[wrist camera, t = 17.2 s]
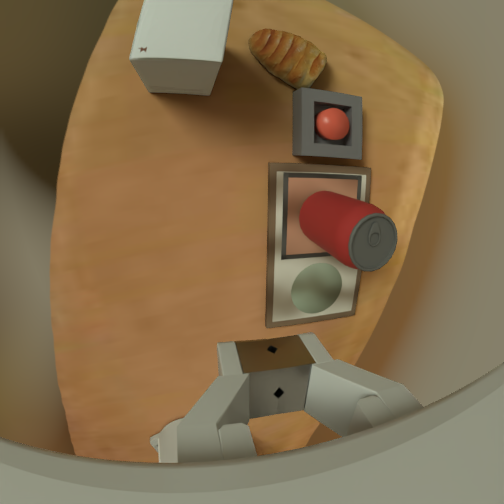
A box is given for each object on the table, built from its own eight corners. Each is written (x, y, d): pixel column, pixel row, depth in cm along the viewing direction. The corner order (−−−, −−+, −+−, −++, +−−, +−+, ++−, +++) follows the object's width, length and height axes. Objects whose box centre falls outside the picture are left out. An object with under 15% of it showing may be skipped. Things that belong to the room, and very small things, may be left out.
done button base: (349, 158, 36) (361, 159, 33) (292, 155, 34) (301, 155, 31) (349, 100, 33) (361, 97, 30) (292, 92, 32) (301, 87, 29)
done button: (341, 141, 33) (349, 141, 31) (313, 138, 33) (320, 138, 31) (341, 112, 32) (349, 110, 30) (313, 108, 31) (320, 106, 29)
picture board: (351, 312, 44) (354, 315, 43) (265, 325, 41) (266, 329, 40) (367, 167, 37) (371, 168, 36) (268, 162, 34) (270, 162, 33)
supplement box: (210, 97, 30) (223, 65, 18) (147, 93, 28) (125, 60, 17) (219, 42, 28) (237, -9, 16) (158, 38, 26) (146, -14, 14)
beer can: (344, 188, 36) (404, 206, 25) (343, 238, 38) (397, 271, 27) (296, 190, 35) (346, 209, 23) (297, 243, 37) (342, 282, 26)
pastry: (236, 60, 29) (242, 50, 26) (261, 22, 28) (269, 9, 24) (303, 97, 32) (316, 91, 29) (324, 58, 31) (338, 50, 27)
